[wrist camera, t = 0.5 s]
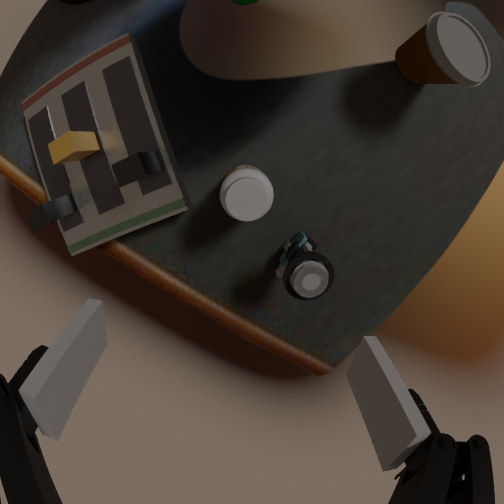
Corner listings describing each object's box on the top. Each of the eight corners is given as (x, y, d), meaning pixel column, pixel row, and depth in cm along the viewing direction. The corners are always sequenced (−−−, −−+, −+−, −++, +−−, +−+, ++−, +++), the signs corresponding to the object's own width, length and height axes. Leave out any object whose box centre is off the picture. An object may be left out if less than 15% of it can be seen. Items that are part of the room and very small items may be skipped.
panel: (33, 103, 29) (-8, 100, 20) (136, 39, 27) (107, 13, 18) (81, 248, 37) (47, 276, 28) (192, 204, 36) (175, 224, 27)
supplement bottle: (228, 211, 36) (223, 234, 27) (219, 169, 34) (211, 177, 25) (271, 203, 36) (281, 223, 27) (263, 160, 34) (271, 165, 25)
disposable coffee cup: (413, 27, 27) (461, 2, 16) (448, 81, 30) (502, 72, 18) (371, 47, 29) (417, 18, 17) (410, 105, 31) (466, 98, 20)
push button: (291, 281, 40) (305, 322, 30) (260, 260, 38) (266, 298, 29) (322, 243, 38) (347, 275, 29) (291, 220, 37) (307, 246, 27)
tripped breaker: (75, 142, 29) (47, 144, 23) (94, 131, 28) (67, 131, 23) (80, 160, 29) (53, 164, 24) (100, 149, 29) (74, 151, 24)
